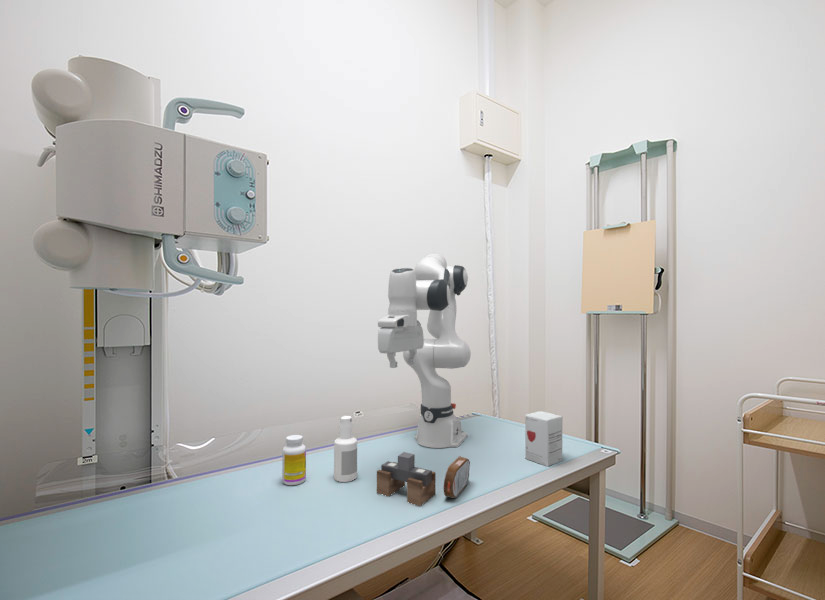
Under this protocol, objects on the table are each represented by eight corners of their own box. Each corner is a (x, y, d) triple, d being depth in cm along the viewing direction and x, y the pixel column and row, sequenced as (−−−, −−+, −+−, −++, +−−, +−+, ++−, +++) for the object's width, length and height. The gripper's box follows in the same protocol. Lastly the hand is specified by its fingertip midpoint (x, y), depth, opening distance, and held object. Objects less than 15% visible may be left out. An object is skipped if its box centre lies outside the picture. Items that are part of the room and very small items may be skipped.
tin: (461, 480, 121) (461, 451, 121) (471, 482, 120) (471, 453, 120) (442, 502, 107) (442, 469, 108) (453, 504, 106) (453, 471, 106)
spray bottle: (352, 483, 118) (352, 421, 119) (330, 481, 120) (330, 419, 120) (360, 474, 125) (360, 415, 125) (339, 472, 126) (339, 413, 127)
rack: (393, 482, 119) (393, 461, 119) (435, 494, 112) (435, 472, 112) (376, 493, 112) (376, 471, 112) (420, 506, 105) (420, 482, 105)
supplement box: (524, 458, 138) (524, 414, 138) (539, 453, 144) (539, 410, 144) (547, 467, 131) (547, 420, 131) (563, 460, 137) (563, 415, 137)
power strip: (387, 471, 117) (387, 448, 117) (431, 481, 110) (431, 457, 110) (381, 476, 114) (381, 452, 114) (426, 486, 107) (426, 461, 107)
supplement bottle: (308, 483, 119) (308, 438, 119) (285, 488, 115) (285, 442, 116) (302, 474, 124) (302, 432, 125) (279, 479, 121) (280, 435, 121)
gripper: (412, 319, 136) (412, 361, 136) (374, 321, 119) (373, 369, 119) (428, 319, 133) (428, 362, 132) (391, 321, 115) (391, 370, 115)
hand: (402, 365), depth 125 cm, fingers open, 8 cm apart
